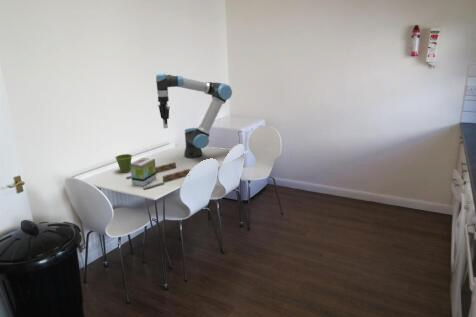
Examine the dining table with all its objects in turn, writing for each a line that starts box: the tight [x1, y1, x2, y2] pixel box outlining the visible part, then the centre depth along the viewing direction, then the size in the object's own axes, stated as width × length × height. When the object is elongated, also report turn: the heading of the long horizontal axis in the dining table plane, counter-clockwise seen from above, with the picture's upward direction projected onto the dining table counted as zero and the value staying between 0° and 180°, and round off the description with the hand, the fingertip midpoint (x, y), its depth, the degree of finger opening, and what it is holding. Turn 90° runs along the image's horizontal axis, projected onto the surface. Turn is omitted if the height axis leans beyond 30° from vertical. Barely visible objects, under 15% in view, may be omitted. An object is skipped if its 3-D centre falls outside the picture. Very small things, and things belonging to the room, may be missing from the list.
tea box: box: [130, 157, 157, 187], centre depth 236 cm, size 15×10×15 cm, turn 161°
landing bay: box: [125, 175, 165, 191], centre depth 239 cm, size 14×28×1 cm, turn 40°
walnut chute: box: [156, 162, 191, 183], centre depth 250 cm, size 21×22×4 cm
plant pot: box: [114, 153, 133, 173], centre depth 258 cm, size 12×12×11 cm
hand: (165, 127), depth 261 cm, fingers closed
